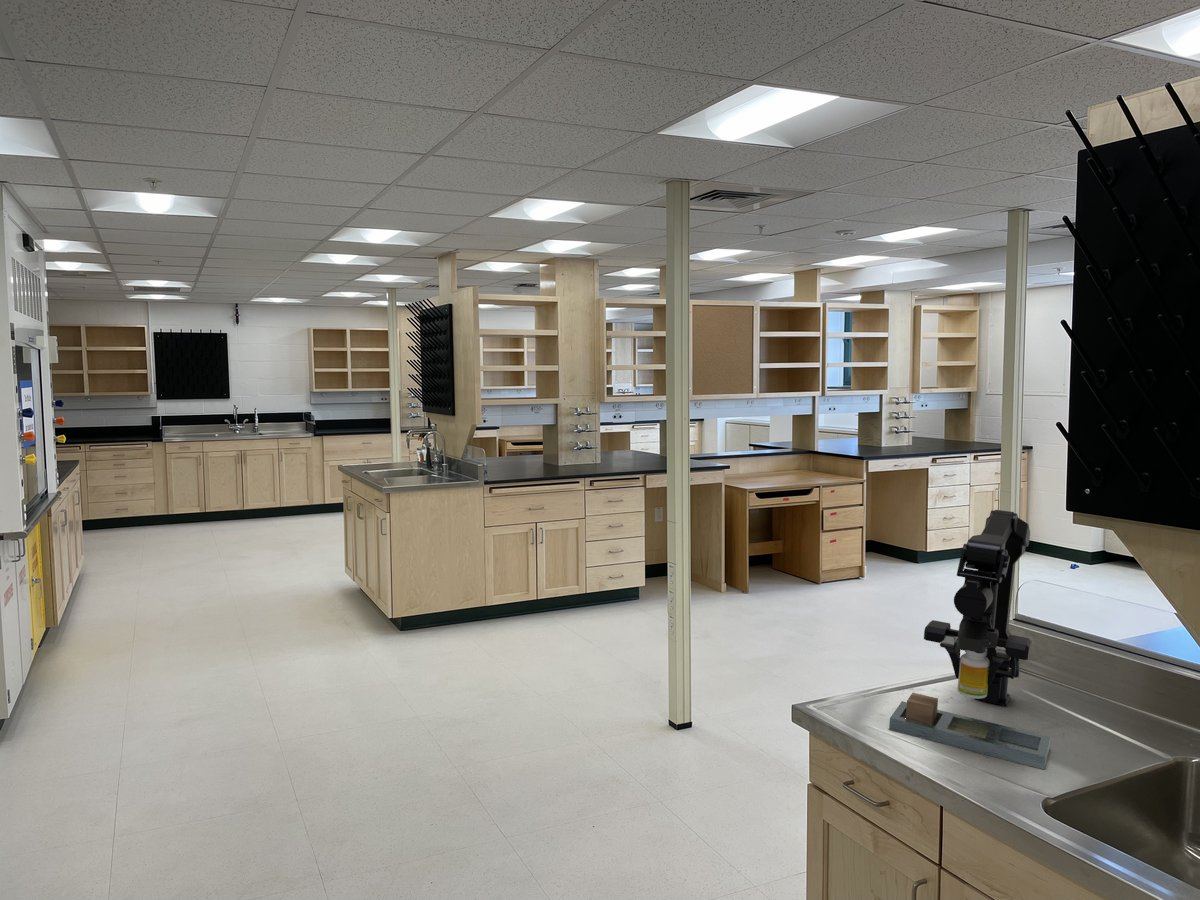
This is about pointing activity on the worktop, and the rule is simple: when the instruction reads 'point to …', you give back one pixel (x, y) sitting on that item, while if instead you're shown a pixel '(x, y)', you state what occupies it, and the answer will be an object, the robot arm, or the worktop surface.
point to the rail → (976, 736)
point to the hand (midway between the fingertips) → (973, 681)
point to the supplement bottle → (973, 674)
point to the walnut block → (922, 709)
